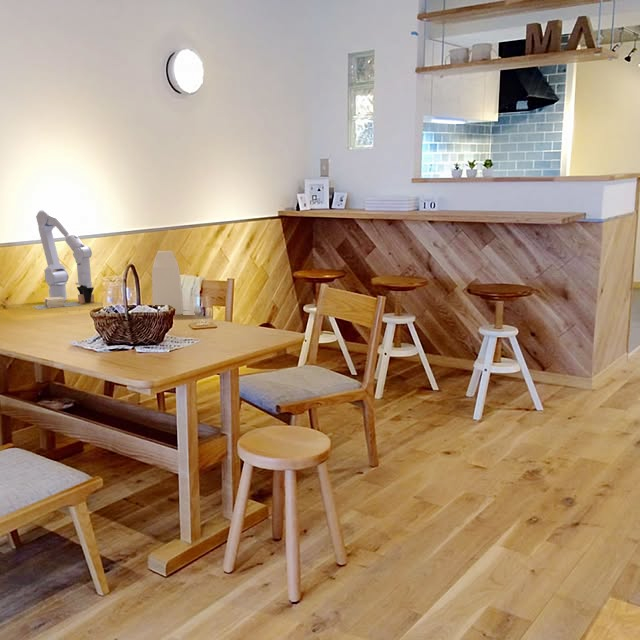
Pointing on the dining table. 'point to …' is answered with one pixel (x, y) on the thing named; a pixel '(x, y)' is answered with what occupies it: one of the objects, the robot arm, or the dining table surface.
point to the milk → (167, 281)
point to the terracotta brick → (82, 300)
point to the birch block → (54, 302)
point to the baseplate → (57, 307)
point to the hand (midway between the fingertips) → (86, 302)
